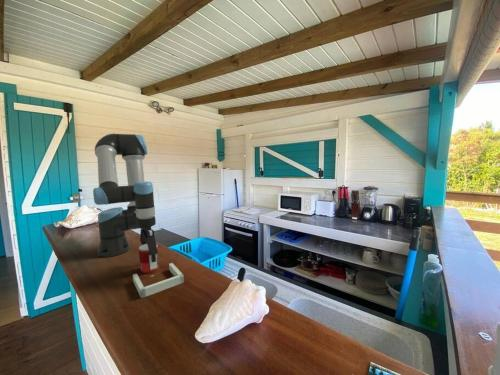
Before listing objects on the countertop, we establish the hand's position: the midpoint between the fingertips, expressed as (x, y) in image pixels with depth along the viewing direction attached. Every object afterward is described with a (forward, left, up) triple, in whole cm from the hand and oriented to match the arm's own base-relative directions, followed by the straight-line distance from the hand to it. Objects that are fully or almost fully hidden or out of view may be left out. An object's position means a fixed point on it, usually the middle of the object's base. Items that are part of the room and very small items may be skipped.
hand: (149, 262), depth 98 cm
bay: (+13, 0, -3) cm, 13 cm away
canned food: (0, 0, -3) cm, 3 cm away
